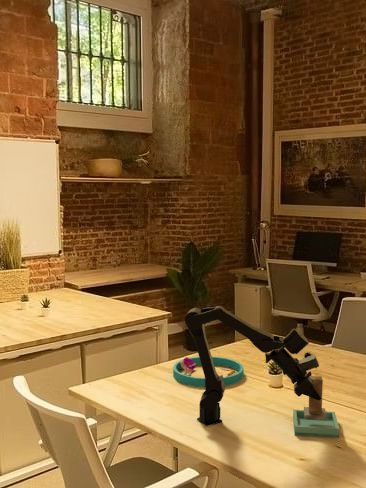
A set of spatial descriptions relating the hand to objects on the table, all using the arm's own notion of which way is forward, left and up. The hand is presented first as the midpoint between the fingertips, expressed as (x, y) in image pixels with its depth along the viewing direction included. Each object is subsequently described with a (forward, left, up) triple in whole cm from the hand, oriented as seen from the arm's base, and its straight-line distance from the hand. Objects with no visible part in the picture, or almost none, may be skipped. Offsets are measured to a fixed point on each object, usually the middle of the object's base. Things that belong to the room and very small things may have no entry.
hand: (319, 397), depth 189 cm
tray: (-1, +1, -11) cm, 11 cm away
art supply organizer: (-2, +64, -11) cm, 65 cm away
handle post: (-1, +1, -7) cm, 7 cm away
